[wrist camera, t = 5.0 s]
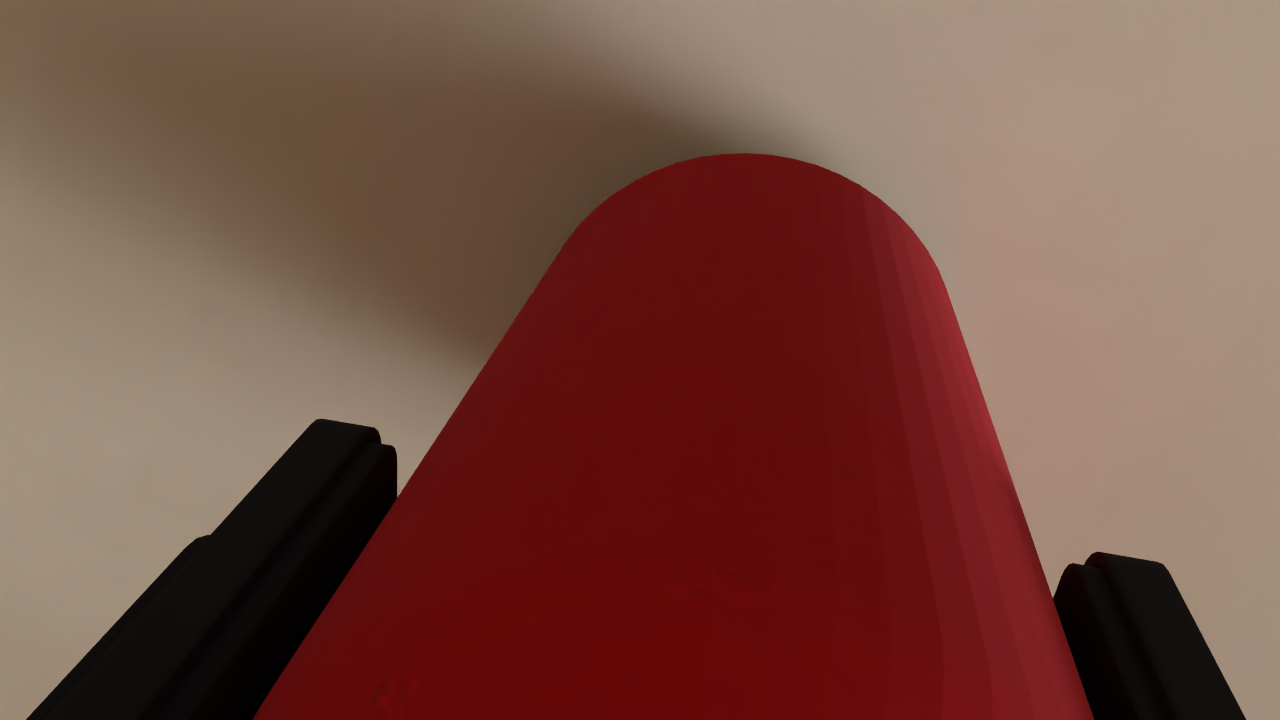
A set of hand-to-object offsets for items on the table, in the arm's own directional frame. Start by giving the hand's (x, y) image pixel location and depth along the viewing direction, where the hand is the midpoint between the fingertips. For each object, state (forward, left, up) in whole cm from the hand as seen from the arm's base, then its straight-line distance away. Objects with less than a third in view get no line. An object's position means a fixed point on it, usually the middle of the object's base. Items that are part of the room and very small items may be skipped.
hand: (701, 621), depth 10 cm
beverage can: (0, 0, -7) cm, 7 cm away
